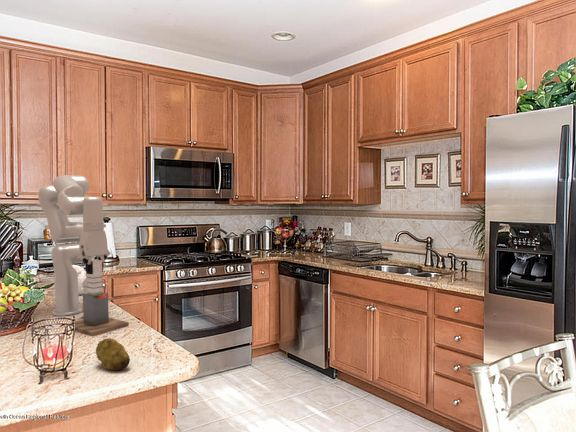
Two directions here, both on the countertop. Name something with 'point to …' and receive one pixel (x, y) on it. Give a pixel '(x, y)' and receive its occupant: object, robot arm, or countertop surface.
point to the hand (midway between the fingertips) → (94, 272)
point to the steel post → (95, 278)
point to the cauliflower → (80, 278)
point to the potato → (112, 354)
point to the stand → (97, 316)
